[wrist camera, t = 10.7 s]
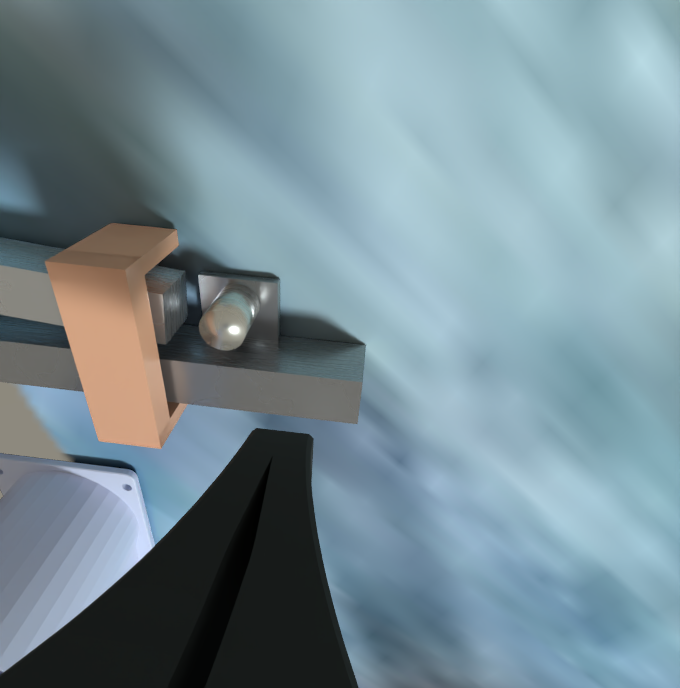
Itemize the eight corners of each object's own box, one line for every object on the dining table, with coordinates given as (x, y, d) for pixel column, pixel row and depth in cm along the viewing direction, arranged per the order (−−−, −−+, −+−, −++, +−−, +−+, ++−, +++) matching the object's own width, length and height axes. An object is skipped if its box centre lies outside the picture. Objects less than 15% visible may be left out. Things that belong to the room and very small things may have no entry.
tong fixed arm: (361, 384, 19) (357, 424, 17) (-107, 330, 20) (-165, 362, 18) (372, 288, 17) (370, 321, 15) (-160, 232, 18) (-234, 255, 16)
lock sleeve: (197, 388, 20) (160, 449, 17) (144, 382, 20) (98, 441, 17) (176, 229, 16) (125, 269, 13) (111, 222, 16) (44, 261, 13)
